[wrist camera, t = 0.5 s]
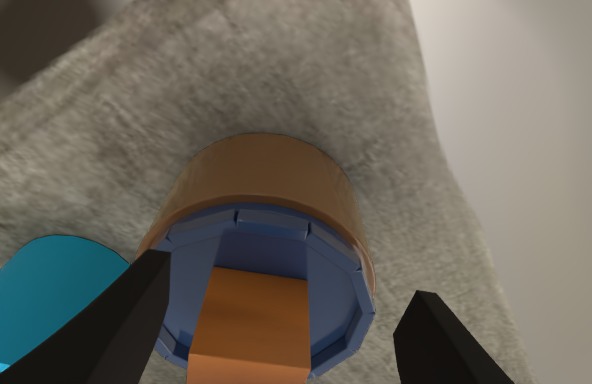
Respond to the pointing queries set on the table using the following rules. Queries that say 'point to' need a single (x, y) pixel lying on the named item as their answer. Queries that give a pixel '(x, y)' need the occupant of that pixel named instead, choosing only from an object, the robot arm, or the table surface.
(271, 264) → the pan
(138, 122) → the table surface
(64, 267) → the mug
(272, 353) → the block
